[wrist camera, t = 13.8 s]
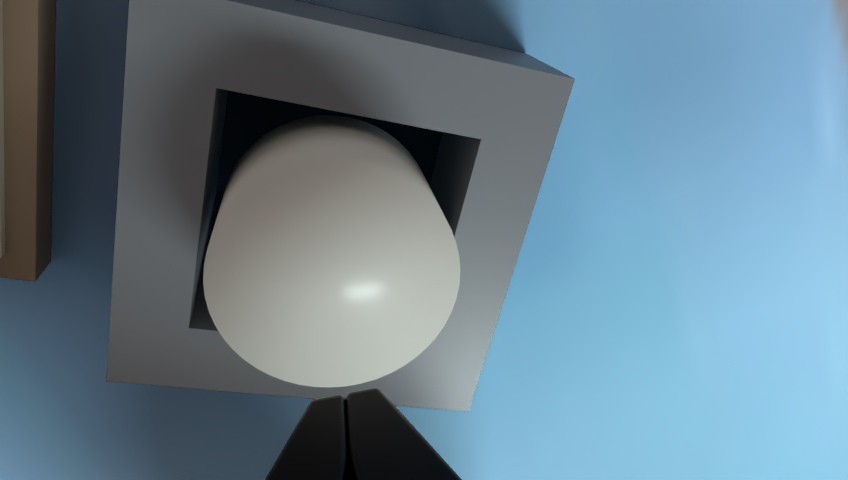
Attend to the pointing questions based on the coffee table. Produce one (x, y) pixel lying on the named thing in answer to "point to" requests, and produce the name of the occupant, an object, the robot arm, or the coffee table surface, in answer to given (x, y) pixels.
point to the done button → (329, 255)
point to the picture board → (26, 136)
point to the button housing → (333, 90)
